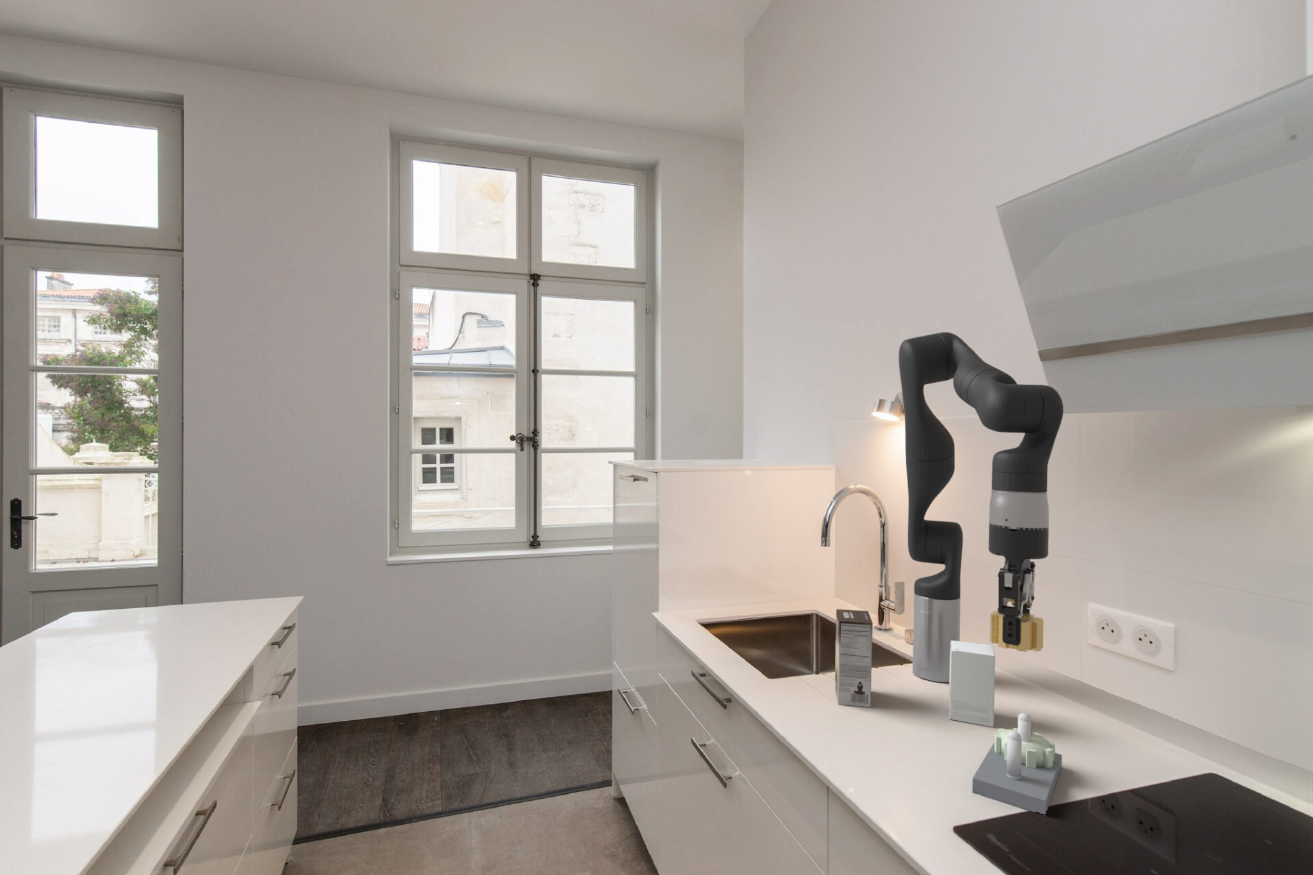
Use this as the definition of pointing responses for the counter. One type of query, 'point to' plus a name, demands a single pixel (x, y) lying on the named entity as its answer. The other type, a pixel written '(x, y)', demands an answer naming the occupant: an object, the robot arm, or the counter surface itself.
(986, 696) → the supplement box
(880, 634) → the counter surface
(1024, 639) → the brass gear
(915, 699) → the counter surface
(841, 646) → the coffee box
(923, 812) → the counter surface
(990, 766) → the gear board
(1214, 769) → the counter surface
